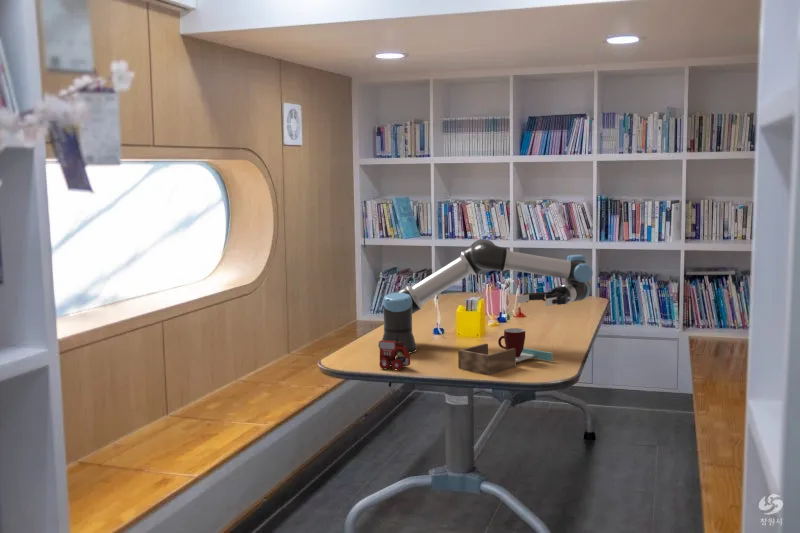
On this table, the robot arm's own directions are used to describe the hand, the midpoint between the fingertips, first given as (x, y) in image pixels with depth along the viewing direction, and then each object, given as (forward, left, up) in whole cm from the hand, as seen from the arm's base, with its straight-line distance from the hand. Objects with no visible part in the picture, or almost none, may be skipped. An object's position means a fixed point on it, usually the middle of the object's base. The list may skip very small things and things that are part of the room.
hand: (532, 301), depth 316 cm
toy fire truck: (-26, -52, -22) cm, 62 cm away
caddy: (0, -29, -22) cm, 36 cm away
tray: (+3, -13, -21) cm, 25 cm away
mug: (0, -14, -20) cm, 24 cm away
